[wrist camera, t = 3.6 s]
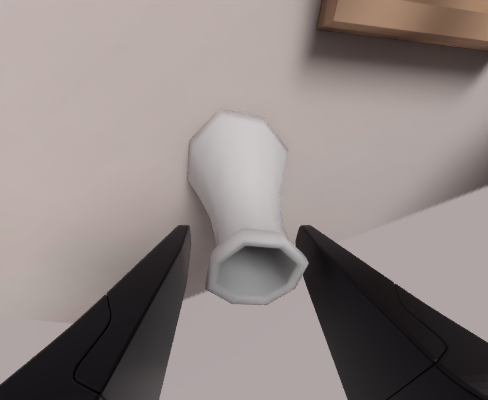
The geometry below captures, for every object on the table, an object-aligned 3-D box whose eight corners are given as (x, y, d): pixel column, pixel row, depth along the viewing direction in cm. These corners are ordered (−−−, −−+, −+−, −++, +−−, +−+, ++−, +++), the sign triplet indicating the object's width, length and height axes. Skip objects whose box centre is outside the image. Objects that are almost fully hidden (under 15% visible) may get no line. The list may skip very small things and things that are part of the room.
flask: (252, 216, 17) (280, 346, 9) (171, 181, 15) (106, 314, 7) (304, 143, 15) (420, 237, 6) (214, 86, 12) (195, 105, 4)
